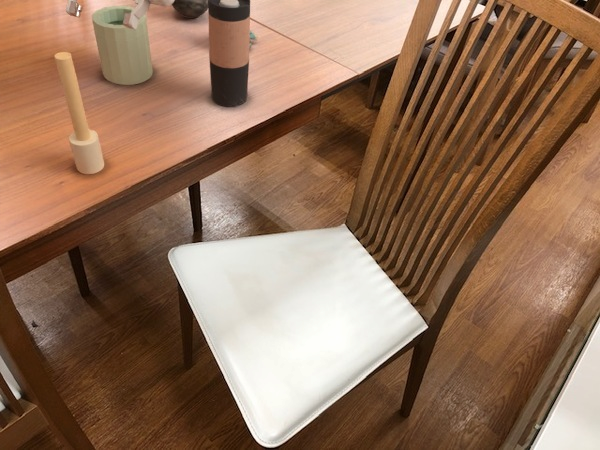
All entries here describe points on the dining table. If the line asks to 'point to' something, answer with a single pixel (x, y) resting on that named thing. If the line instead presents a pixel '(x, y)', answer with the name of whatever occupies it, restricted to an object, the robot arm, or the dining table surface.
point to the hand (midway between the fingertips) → (100, 21)
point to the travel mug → (229, 50)
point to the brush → (79, 120)
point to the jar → (122, 46)
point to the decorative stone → (190, 7)
